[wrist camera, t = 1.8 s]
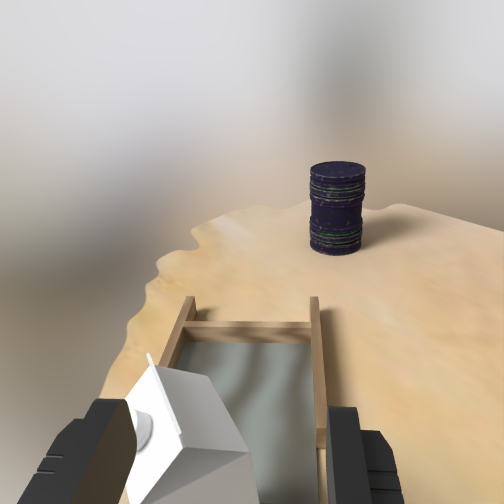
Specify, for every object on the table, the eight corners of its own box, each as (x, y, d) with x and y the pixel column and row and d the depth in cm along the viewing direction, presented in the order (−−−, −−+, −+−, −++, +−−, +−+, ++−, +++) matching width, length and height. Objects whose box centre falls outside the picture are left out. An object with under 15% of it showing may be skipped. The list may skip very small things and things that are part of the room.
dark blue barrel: (327, 260, 76) (329, 181, 69) (299, 240, 84) (299, 167, 77) (372, 247, 79) (378, 170, 72) (341, 229, 87) (344, 158, 80)
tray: (317, 313, 62) (318, 296, 61) (332, 509, 37) (333, 488, 35) (189, 312, 64) (186, 296, 63) (119, 497, 39) (112, 476, 37)
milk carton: (236, 496, 38) (198, 332, 29) (274, 577, 32) (242, 404, 23) (159, 538, 35) (91, 374, 26) (185, 634, 30) (110, 467, 20)
